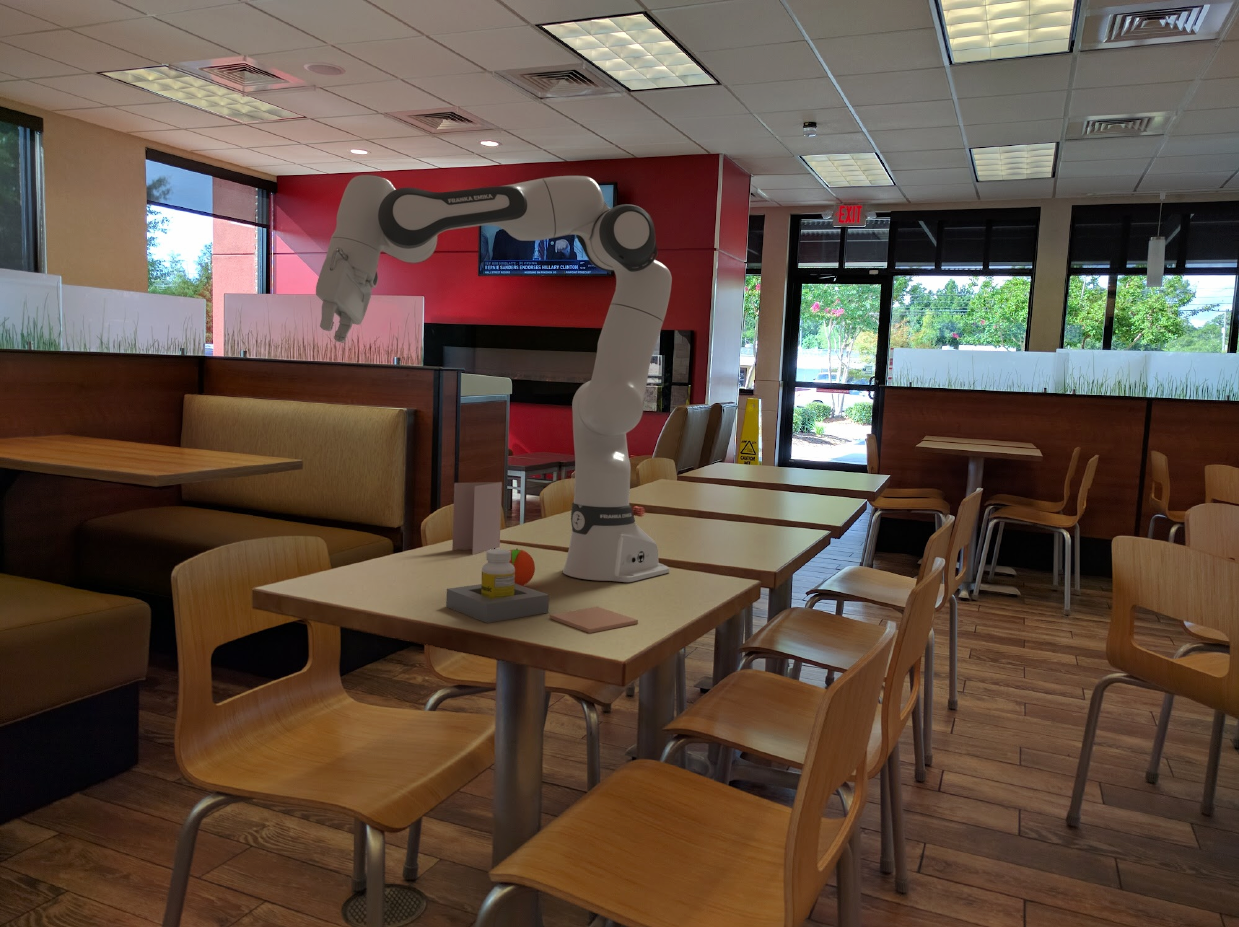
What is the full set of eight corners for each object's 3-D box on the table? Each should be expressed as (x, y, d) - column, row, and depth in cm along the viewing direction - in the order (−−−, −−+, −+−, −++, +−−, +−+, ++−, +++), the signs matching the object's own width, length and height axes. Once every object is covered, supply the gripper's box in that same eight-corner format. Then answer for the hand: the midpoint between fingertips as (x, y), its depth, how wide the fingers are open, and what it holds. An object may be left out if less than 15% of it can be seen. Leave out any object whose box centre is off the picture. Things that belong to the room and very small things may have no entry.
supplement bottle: (476, 606, 145) (478, 548, 144) (508, 605, 147) (510, 547, 146) (485, 615, 140) (487, 554, 139) (517, 613, 142) (519, 553, 141)
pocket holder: (506, 597, 152) (507, 580, 152) (548, 612, 143) (549, 594, 143) (446, 606, 144) (446, 588, 144) (486, 623, 135) (487, 604, 135)
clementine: (531, 593, 156) (532, 553, 156) (492, 591, 157) (494, 552, 156) (536, 583, 164) (537, 546, 164) (499, 581, 164) (500, 544, 164)
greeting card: (498, 546, 200) (500, 481, 199) (511, 552, 194) (514, 485, 193) (450, 549, 194) (452, 482, 193) (463, 555, 188) (465, 486, 187)
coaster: (597, 610, 146) (597, 606, 146) (637, 623, 139) (638, 620, 139) (549, 618, 140) (549, 614, 140) (589, 633, 132) (589, 629, 132)
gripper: (355, 248, 148) (335, 326, 146) (380, 282, 168) (362, 351, 167) (318, 239, 147) (297, 317, 146) (347, 274, 168) (329, 343, 166)
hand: (332, 335), depth 156 cm, fingers open, 8 cm apart
